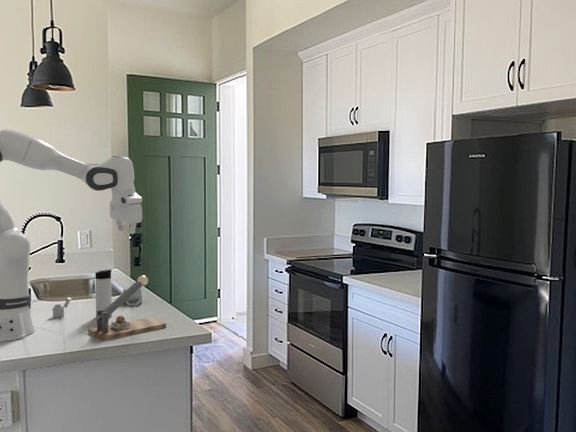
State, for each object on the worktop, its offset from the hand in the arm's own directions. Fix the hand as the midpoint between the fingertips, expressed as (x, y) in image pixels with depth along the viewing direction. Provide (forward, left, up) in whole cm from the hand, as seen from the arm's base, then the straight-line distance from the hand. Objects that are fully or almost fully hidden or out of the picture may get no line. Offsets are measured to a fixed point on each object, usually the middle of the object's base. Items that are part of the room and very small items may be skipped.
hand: (126, 232), depth 207 cm
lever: (-4, -8, -26) cm, 27 cm away
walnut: (-7, -8, -32) cm, 34 cm away
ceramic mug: (+17, +29, -37) cm, 50 cm away
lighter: (-16, +28, -37) cm, 49 cm away
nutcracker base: (-4, -8, -37) cm, 38 cm away
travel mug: (-3, +16, -37) cm, 40 cm away
